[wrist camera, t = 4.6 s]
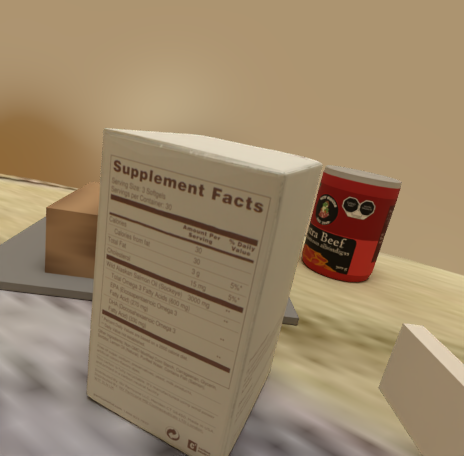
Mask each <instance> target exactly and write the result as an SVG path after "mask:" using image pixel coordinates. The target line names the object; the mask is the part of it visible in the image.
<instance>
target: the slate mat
mask: <svg viewBox="0 0 464 456" xmlns="http://www.w3.org/2000/svg"><path fill="white" fill-rule="evenodd" d="M45 244H46V217H44V218H43V219H41V220H39V221H38V222H36V223H35V224H33V225H31V226H30V227H28V228H27V229H25V230H23V231H22V232H20V233H19V234H17V235H15V236H14V237H12V238H11V239H9V240H7V241H6V242H4V243H3V244H1V245H0V289H2V290H10V291H18V292H27V293H35V294H43V295H52V296H60V297H68V298H76V299H85V300H92V299H93V283H94V279H91V278H83V277H76V276H68V275H60V274H52V273H45ZM298 320H299V317H298V315H297V313H296V311H295V309H294V306H293V304H292V302H291V300H290V298H288V302H287V306H286V310H285V313H284V317H283V321H282V323H284V324H292V325H297V324H298Z"/></svg>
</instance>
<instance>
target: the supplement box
mask: <svg viewBox="0 0 464 456" xmlns="http://www.w3.org/2000/svg"><path fill="white" fill-rule="evenodd" d="M321 169H322V164H321V163H320V162H318V161H316V160H313V159H309V158H306V157H302V156H298V155H294V154H289V153H284V152H279V151H275V150H270V149H265V148H260V147H255V146H250V145H245V144H241V143H236V142H231V141H227V140H222V139H218V138H213V137H208V136H202V135H195V134H178V133H167V132H152V131H151V132H150V131H136V130H122V129H110V128H105V129H104V130H103V149H102V163H101V177H100V194H99V208H98V221H97V237H96V252H95V268H94V283H93V299H92V314H91V330H90V344H89V360H88V377H87V395H88V396H89V397H91V398H92V399H93V400H94V401H96V402H98V403H100V404H101V405H103V406H104V407H106V408H108V409H109V410H111V411H113V412H115V413H117V414H118V415H120V416H121V417H123V418H125V419H127V420H128V421H130V422H132V423H133V424H135V425H137V426H139V427H140V428H142V429H144V430H145V431H147V432H149V433H151V434H152V435H154V436H156V437H158V438H159V439H161V440H163V441H165V442H166V443H168V444H170V445H171V446H173V447H175V448H177V449H178V450H180V451H182V452H184V453H185V454H187V455H189V456H229V454H230V452H231V450H232V448H233V446H234V444H235V442H236V440H237V438H238V436H239V434H240V432H241V430H242V428H243V426H244V424H245V422H246V420H247V418H248V416H249V414H250V412H251V410H252V408H253V406H254V404H255V402H256V399H257V397H258V395H259V393H260V391H261V389H262V387H263V385H264V383H265V381H266V379H267V377H268V374H269V373H270V369H271V365H272V361H273V357H274V353H275V349H276V345H277V341H278V337H279V333H280V329H281V325H282V321H283V317H284V313H285V310H286V306H287V302H288V298H289V294H290V290H291V286H292V282H293V279H294V275H295V271H296V267H297V263H298V259H299V255H300V251H301V247H302V244H303V240H304V236H305V232H306V228H307V224H308V220H309V216H310V212H311V208H312V204H313V200H314V197H315V193H316V189H317V185H318V180H319V176H320V173H321Z"/></svg>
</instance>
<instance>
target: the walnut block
mask: <svg viewBox="0 0 464 456" xmlns="http://www.w3.org/2000/svg"><path fill="white" fill-rule="evenodd" d="M99 194H100V183H98V182H90V183H88V184H86V185H85V186H83V187H81V188H79V189H78V190H76V191H74V192H72V193H71V194H69V195H67V196H66V197H64V198H62V199H60V200H59V201H57V202H55V203H53V204H52V205H50V206H48V207H46V244H45V273H52V274H60V275H68V276H76V277H83V278H91V279H94V268H95V252H96V237H97V221H98V208H99Z"/></svg>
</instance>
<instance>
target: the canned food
mask: <svg viewBox="0 0 464 456" xmlns="http://www.w3.org/2000/svg"><path fill="white" fill-rule="evenodd" d="M401 183H402V182H401V181H399V180H396V179H393V178H390V177H386V176H382V175H378V174H374V173H370V172H365V171H360V170H355V169H350V168H344V167H339V166H326V167H325V170H324V172H323V176H322V180H321V183H320V187H319V190H318V194H317V199H316V202H315V206H314V210H313V214H312V217H311V221H310V225H309V229H308V233H307V237H306V241H305V244H304V248H303V252H302V255H303V262H304V263H305V264H306V266H308V267H309V268H310V269H312V270H313V271H315V272H317V273H319V274H321V275H324V276H326V277H329V278H333V279H336V280H341V281H347V282H361V281H365V280H366V279H368V277H369V276H370V275H371V273H372V271H373V268H374V265H375V263H376V260H377V257H378V254H379V251H380V248H381V245H382V242H383V239H384V236H385V233H386V230H387V227H388V224H389V222H390V219H391V216H392V212H393V210H394V207H395V204H396V201H397V198H398V194H399V191H400V188H401Z"/></svg>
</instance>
